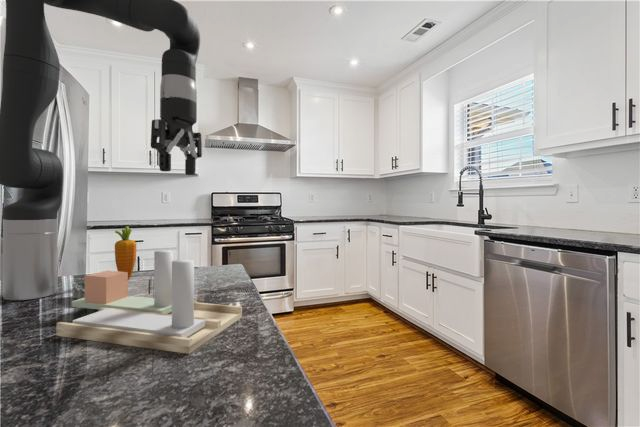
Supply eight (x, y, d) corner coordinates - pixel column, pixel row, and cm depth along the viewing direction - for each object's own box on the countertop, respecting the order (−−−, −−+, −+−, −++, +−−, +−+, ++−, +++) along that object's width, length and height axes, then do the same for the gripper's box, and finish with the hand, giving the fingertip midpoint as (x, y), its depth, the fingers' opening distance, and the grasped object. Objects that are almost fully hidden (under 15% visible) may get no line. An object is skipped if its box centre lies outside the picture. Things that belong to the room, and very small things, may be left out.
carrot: (126, 285, 85) (126, 227, 84) (109, 284, 86) (110, 226, 85) (140, 281, 89) (140, 226, 89) (124, 280, 90) (125, 225, 90)
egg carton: (123, 300, 73) (123, 281, 73) (83, 307, 67) (83, 287, 67) (107, 291, 80) (107, 274, 80) (69, 297, 74) (69, 279, 74)
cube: (84, 301, 63) (84, 275, 62) (107, 294, 67) (107, 270, 67) (106, 303, 61) (106, 277, 61) (127, 296, 66) (127, 272, 66)
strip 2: (71, 306, 63) (71, 249, 62) (99, 298, 69) (99, 245, 68) (161, 316, 58) (161, 254, 58) (183, 306, 64) (183, 249, 64)
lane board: (56, 335, 52) (56, 323, 52) (135, 306, 68) (135, 296, 68) (189, 353, 46) (189, 339, 46) (241, 317, 62) (242, 306, 62)
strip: (72, 326, 53) (72, 258, 52) (105, 314, 58) (105, 253, 58) (181, 340, 48) (181, 265, 48) (205, 325, 54) (205, 258, 53)
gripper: (184, 110, 81) (184, 176, 82) (140, 90, 67) (140, 170, 68) (211, 108, 80) (210, 176, 80) (171, 88, 66) (171, 169, 66)
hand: (178, 173), depth 74 cm, fingers open, 8 cm apart
